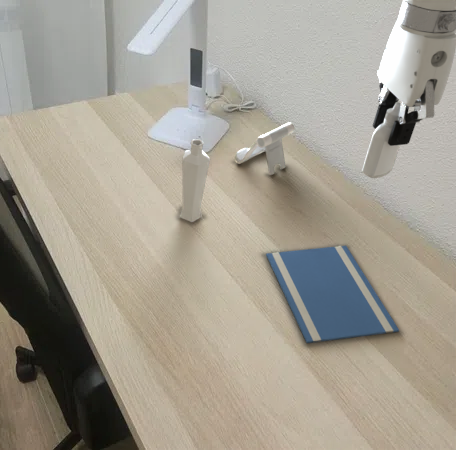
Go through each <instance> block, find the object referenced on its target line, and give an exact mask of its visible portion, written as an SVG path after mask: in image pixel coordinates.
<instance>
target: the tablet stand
mask: <svg viewBox="0 0 456 450" xmlns="http://www.w3.org/2000/svg"><path fill="white" fill-rule="evenodd" d="M295 129H296V127H295V125H294V124H293V123H292V122H287V123H285V124H282V125H281V126H279V127H277V128H275V129H272V130H271V131H268V132H266V133H265V134H264V133H263V134H262V135H260V136H258V137H256V139H255V140H254V142H253V144H252V145H251V146H250V147H249V148H248V147H244V148H241V149H240V150H238V151H236V152H235V155H234V161H235V162H236V163H237V164H239V165H240V164H244V163H246V162H247V161H248V160H251V159H252V158H254V157H256V156H258V155H260V154H262V153H264V152H265V155H266V156H265V158H266V163H267V169H268V174H269V175H271V176H272V175H274V174H275V173H276V172H275V171H276V169H275V167H276V166H279V169H280V170H283V169H285V168H286V160H285V152H284V144H283V138H285V137H287V136H289V135H291V134H293V133H295Z"/></svg>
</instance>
